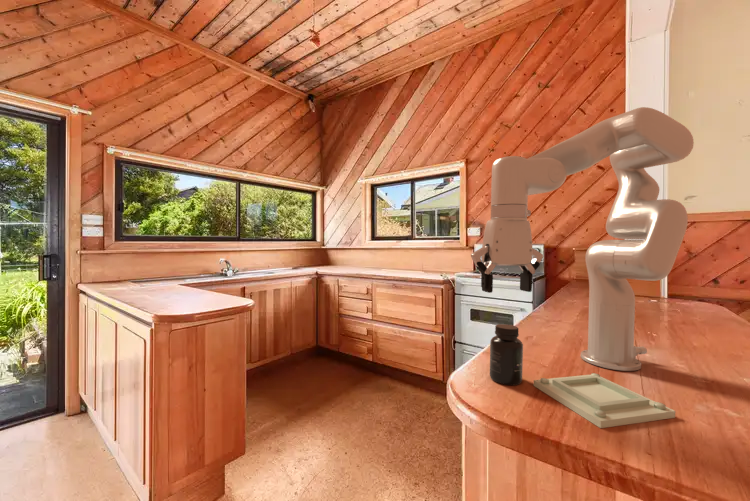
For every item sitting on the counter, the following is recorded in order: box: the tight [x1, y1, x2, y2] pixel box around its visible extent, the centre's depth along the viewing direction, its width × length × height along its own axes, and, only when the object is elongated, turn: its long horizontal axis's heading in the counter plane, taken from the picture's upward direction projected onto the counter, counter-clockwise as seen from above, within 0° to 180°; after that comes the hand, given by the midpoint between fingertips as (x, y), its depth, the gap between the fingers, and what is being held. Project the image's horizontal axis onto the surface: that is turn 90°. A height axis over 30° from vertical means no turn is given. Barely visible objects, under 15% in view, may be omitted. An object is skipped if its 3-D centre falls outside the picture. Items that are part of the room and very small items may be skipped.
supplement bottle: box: [489, 323, 524, 386], centre depth 72 cm, size 7×7×12 cm
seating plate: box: [533, 372, 676, 429], centre depth 63 cm, size 16×16×2 cm
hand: (506, 291), depth 71 cm, fingers open, 9 cm apart
